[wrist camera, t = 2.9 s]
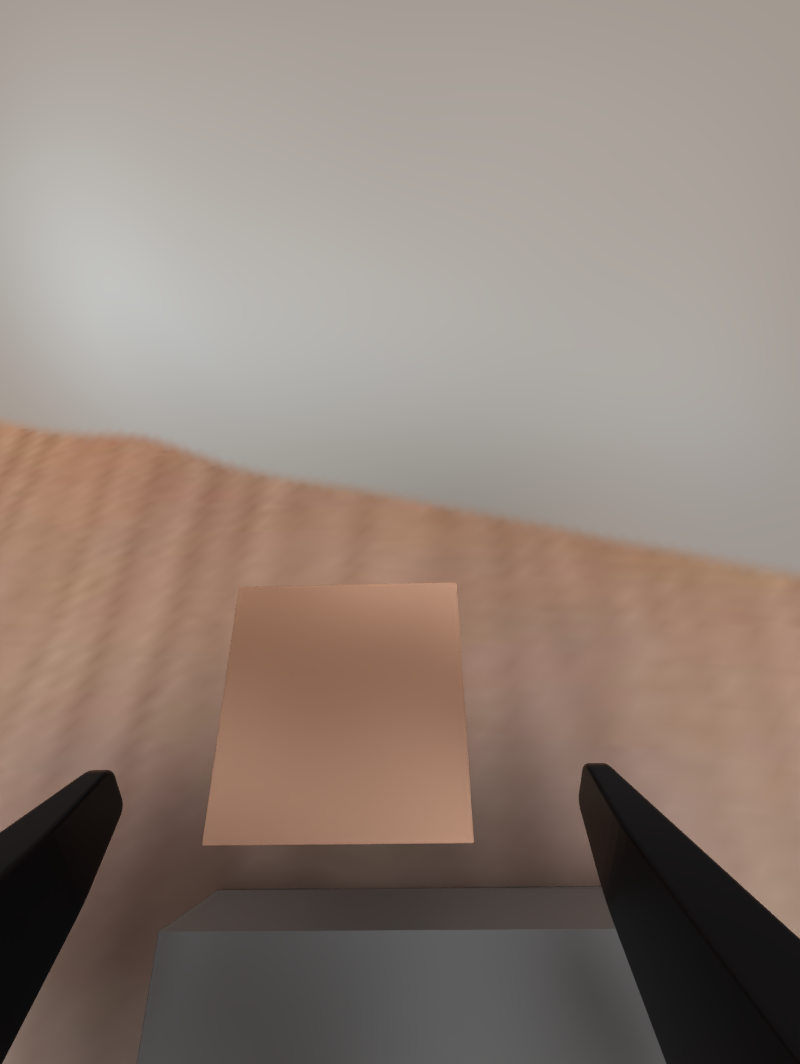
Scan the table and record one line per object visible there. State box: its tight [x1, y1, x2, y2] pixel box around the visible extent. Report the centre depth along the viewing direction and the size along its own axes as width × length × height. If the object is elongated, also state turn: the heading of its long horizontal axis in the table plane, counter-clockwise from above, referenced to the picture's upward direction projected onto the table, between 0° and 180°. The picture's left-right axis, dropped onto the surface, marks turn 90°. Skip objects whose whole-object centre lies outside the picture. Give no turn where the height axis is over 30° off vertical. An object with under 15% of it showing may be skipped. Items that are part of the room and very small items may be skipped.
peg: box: [202, 583, 474, 846], centre depth 13 cm, size 4×4×10 cm
